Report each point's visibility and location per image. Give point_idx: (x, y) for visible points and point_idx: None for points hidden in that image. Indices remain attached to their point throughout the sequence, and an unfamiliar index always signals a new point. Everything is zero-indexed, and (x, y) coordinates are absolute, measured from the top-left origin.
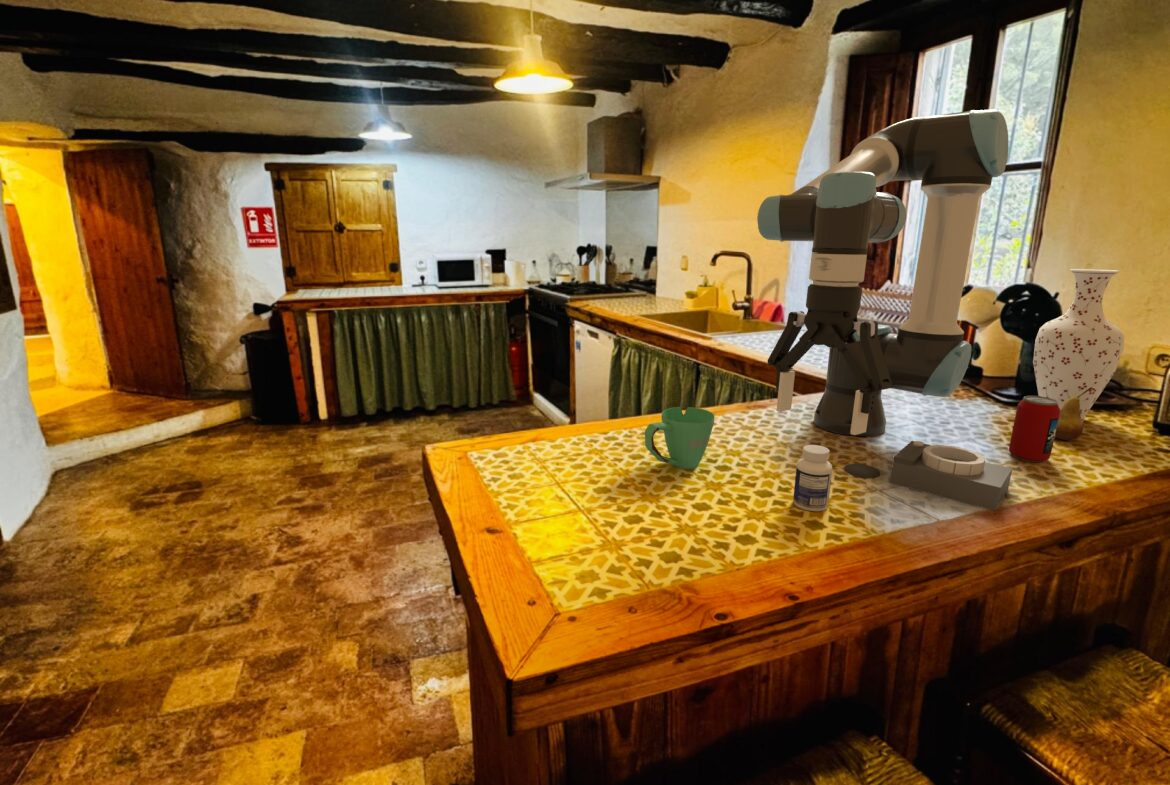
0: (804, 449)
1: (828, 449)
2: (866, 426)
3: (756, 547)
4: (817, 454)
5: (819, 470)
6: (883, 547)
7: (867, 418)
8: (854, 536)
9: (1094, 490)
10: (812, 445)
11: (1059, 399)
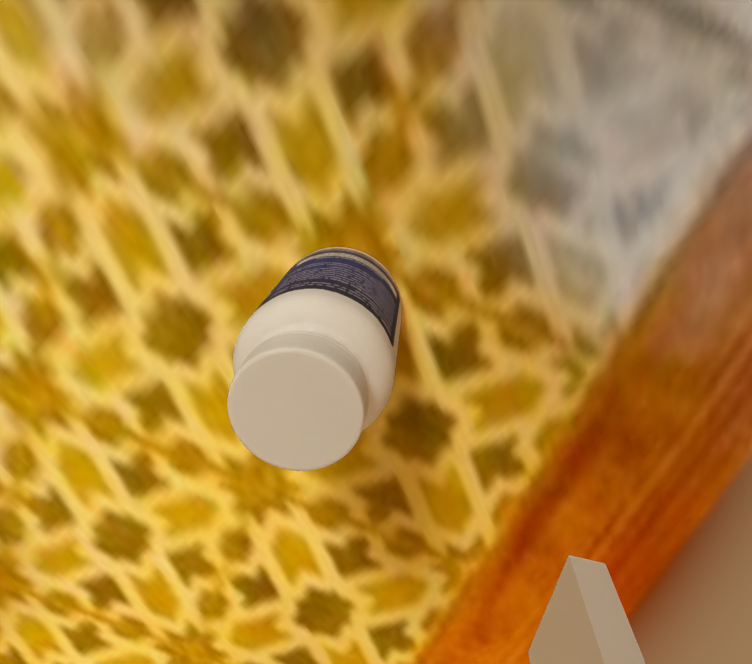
0: (254, 453)
1: (344, 376)
2: (617, 599)
3: (364, 627)
4: (332, 462)
5: (363, 428)
6: (638, 428)
7: (639, 655)
8: (545, 420)
9: None
10: (251, 376)
11: None
